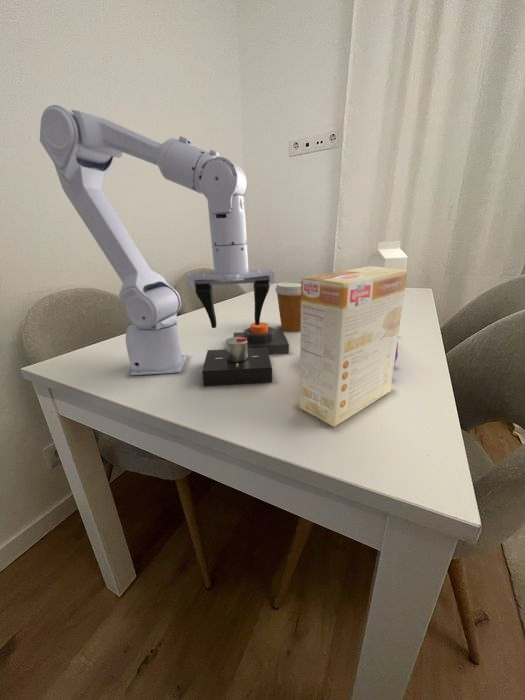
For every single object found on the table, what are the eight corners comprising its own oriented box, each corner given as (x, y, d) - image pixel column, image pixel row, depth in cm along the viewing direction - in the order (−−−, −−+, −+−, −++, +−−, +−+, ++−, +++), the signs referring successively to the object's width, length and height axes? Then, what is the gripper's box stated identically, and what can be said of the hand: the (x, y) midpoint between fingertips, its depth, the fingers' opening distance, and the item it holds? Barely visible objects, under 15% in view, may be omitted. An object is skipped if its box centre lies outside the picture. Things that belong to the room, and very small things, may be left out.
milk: (396, 337, 74) (411, 241, 65) (374, 340, 72) (387, 242, 64) (380, 330, 79) (392, 240, 71) (360, 332, 78) (370, 241, 69)
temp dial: (226, 362, 55) (224, 343, 53) (227, 354, 58) (225, 335, 57) (248, 361, 55) (247, 341, 53) (247, 353, 59) (246, 334, 57)
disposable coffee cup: (304, 335, 77) (305, 288, 72) (270, 331, 81) (269, 286, 76) (314, 325, 85) (316, 281, 80) (283, 321, 89) (283, 280, 84)
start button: (250, 335, 67) (250, 327, 66) (250, 329, 70) (249, 322, 70) (268, 334, 67) (268, 327, 66) (267, 329, 71) (267, 321, 70)
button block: (233, 356, 65) (232, 339, 64) (234, 341, 74) (233, 325, 73) (288, 353, 66) (288, 336, 64) (282, 338, 75) (282, 323, 74)
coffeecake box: (355, 377, 55) (365, 265, 47) (392, 392, 49) (410, 269, 42) (296, 407, 46) (298, 276, 39) (334, 429, 41) (345, 282, 33)
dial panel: (203, 386, 53) (202, 370, 52) (209, 363, 62) (207, 349, 61) (272, 382, 53) (272, 366, 52) (267, 360, 63) (266, 346, 62)
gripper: (180, 248, 45) (192, 334, 50) (276, 243, 46) (279, 328, 51) (187, 246, 52) (196, 322, 57) (271, 242, 53) (273, 317, 58)
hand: (235, 324), depth 54 cm, fingers open, 7 cm apart
